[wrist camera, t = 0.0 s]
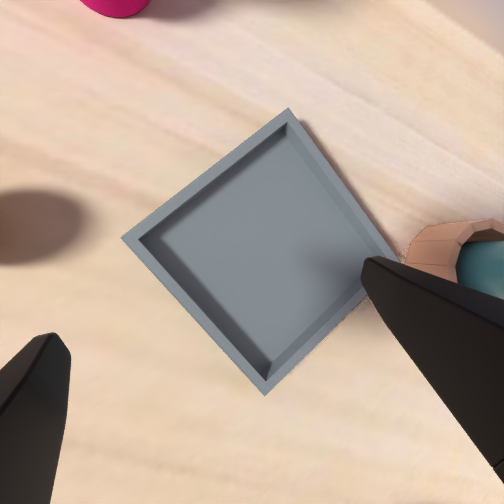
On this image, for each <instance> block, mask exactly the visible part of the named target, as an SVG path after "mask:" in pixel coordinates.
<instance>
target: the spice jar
mask: <svg viewBox="0 0 504 504" xmlns="http://www.w3.org/2000/svg"><path fill="white" fill-rule="evenodd" d="M455 268H456V276H457V283H458V284H461V285H464V286H467V287H470V288H472V289H475V290H478V291H481V292H484V293H487V294H489V295H492V296H495V297H498V298H501V299H504V241H473V242H464V243H463V244H462V245H461V249H460V252H459V255H458V259H457V262H456V265H455Z"/></svg>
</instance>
